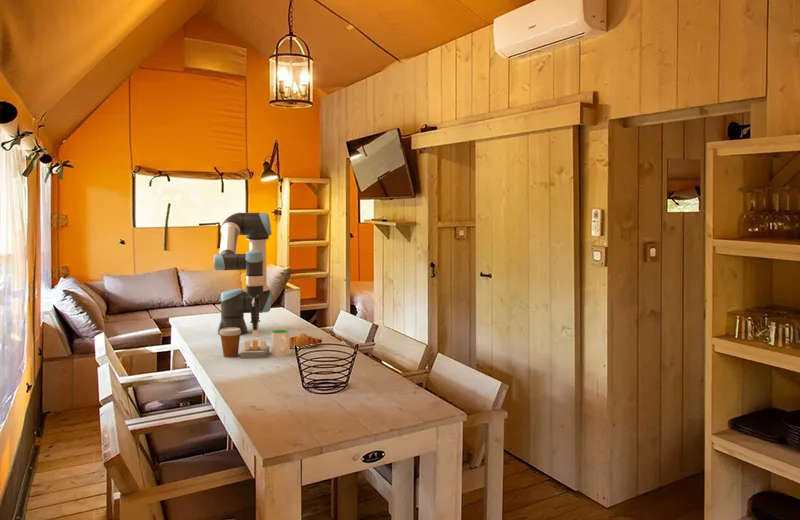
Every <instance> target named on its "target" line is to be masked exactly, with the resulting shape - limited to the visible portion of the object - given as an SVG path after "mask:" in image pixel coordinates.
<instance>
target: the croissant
mask: <svg viewBox="0 0 800 520" xmlns="http://www.w3.org/2000/svg"><path fill="white" fill-rule="evenodd" d="M318 343H320V344H322V343H323V339H322V338H317V337H313V336H311V335H308V334H306V333H303V332H302V333H299V334H297V335H296V336H295V335H294V336H291V337H290V350H291V349H293V350H295V349H294V345H296V346H297V347H299V348H300V349H302V348H301V347H303V346H306V345H310V344H318Z"/></svg>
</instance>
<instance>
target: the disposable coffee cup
mask: <svg viewBox="0 0 800 520" xmlns="http://www.w3.org/2000/svg"><path fill="white" fill-rule="evenodd" d="M219 333H220V334H219V336H220V340H221V347H222V353H223V354H222V355H223V357H224V358H234V357H238V356H239V348H240V347H239V346H240V341H241V340H240V339H241V335H242V334H241V330H240V328H234V327H233V328H223V329H221V330H220V332H219ZM240 334H241V335H240Z"/></svg>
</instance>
